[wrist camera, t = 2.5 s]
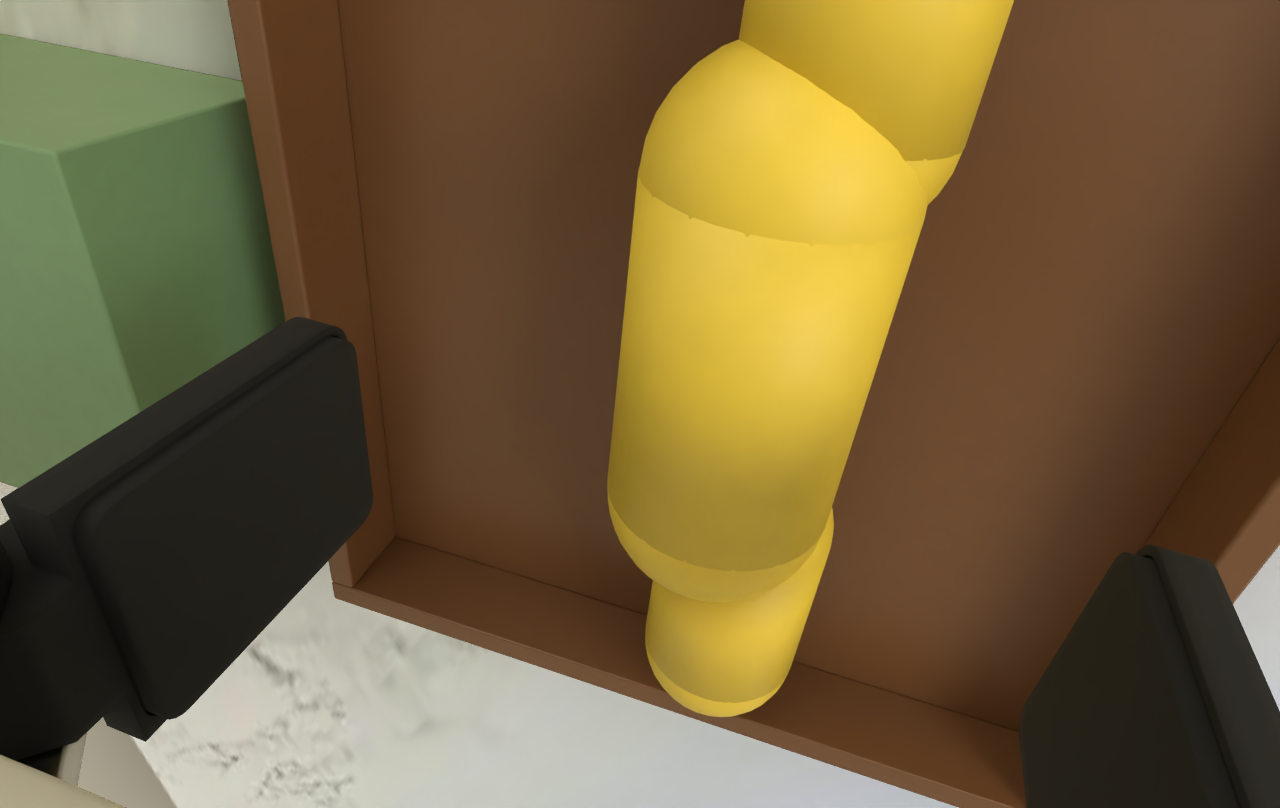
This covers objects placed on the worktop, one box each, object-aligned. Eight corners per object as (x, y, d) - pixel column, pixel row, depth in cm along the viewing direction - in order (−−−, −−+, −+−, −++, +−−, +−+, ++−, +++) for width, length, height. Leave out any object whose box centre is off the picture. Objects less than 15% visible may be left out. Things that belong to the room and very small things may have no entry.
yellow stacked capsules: (713, -371, 9) (677, -512, 6) (1079, -333, 9) (1249, -461, 6) (605, 603, 19) (568, 752, 16) (778, 636, 19) (777, 794, 16)
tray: (278, -468, 11) (123, -557, 9) (1800, -409, 8) (2136, -529, 5) (391, 531, 22) (334, 598, 20) (1034, 732, 18) (1049, 839, 16)
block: (-37, 25, 17) (-337, 63, 13) (280, 87, 15) (53, 152, 11) (77, 342, 21) (-118, 443, 17) (330, 414, 20) (181, 543, 16)
